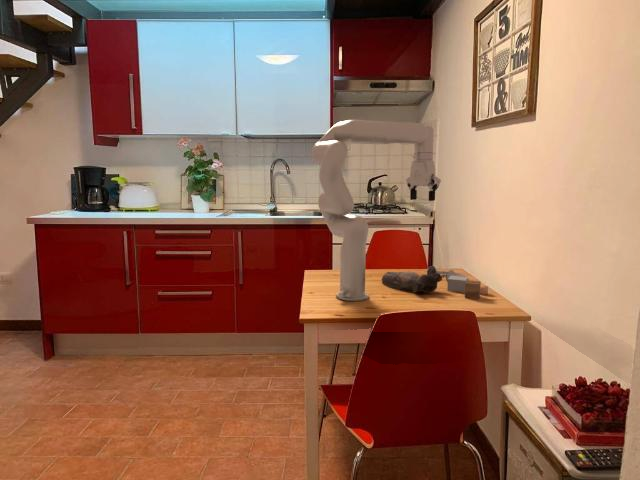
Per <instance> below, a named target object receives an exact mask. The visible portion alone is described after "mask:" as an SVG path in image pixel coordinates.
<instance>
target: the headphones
mask: <svg viewBox="0 0 640 480" xmlns="http://www.w3.org/2000/svg"><path fill="white" fill-rule="evenodd" d="M419 271H420V272H421V270H418V272H419ZM423 272H424V273H425V272H426V275H431V274H434V273H438V274H440V275H445V274H446V275H445V280H446V283H448V278H449V277H450V276H461V277H467V275H465V274H463V273H459V272H458V273H457V272H455V271H454V270H453V269H450V270H448V271H444V270H437V268H436V267H435V266H434V265H430V266H429V267H428V268H427V270H426V271H424V270H423Z"/></svg>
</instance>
